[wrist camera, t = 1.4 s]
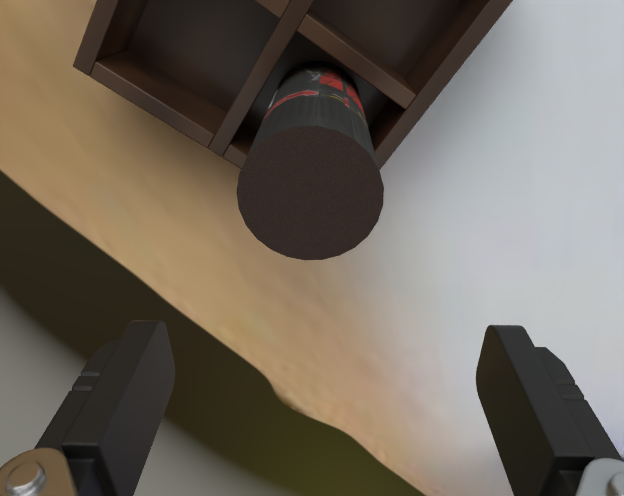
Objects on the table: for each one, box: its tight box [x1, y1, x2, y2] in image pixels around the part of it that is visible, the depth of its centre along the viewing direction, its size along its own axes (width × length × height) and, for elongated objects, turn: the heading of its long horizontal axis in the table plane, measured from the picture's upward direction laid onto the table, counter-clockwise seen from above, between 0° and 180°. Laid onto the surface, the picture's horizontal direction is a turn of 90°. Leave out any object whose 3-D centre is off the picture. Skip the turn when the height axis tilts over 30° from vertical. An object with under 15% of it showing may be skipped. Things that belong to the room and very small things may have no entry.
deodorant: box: [237, 61, 384, 260], centre depth 25 cm, size 6×6×15 cm
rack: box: [73, 0, 513, 170], centre depth 27 cm, size 18×18×5 cm
